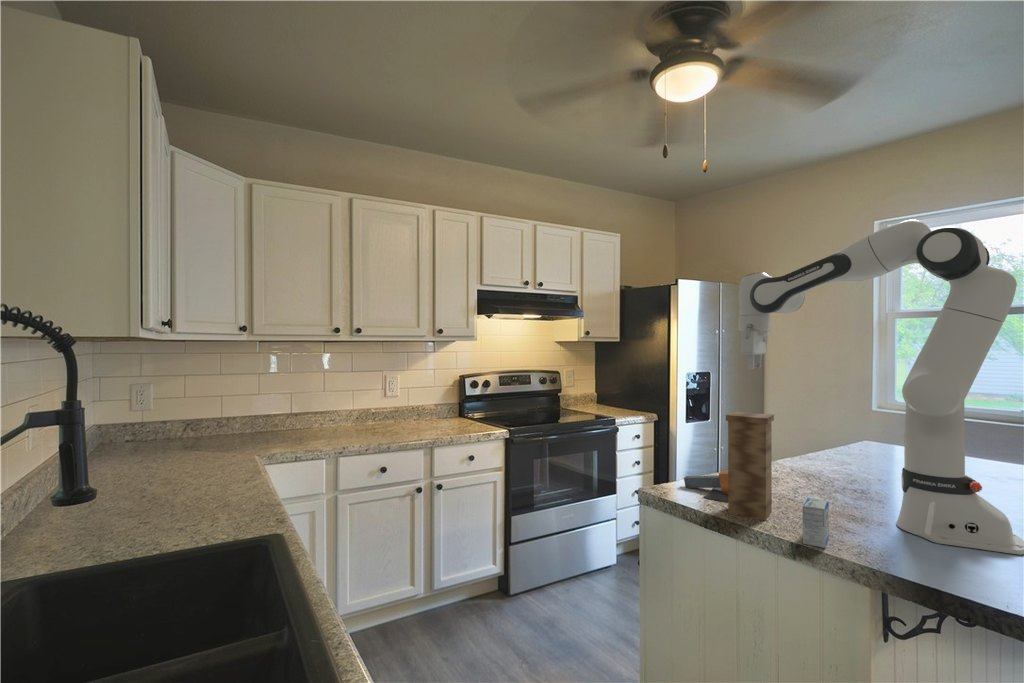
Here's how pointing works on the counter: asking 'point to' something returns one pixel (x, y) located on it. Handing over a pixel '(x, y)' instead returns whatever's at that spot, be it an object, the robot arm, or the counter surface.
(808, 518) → the medicine box
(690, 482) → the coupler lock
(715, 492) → the rubber mat
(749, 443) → the stand
